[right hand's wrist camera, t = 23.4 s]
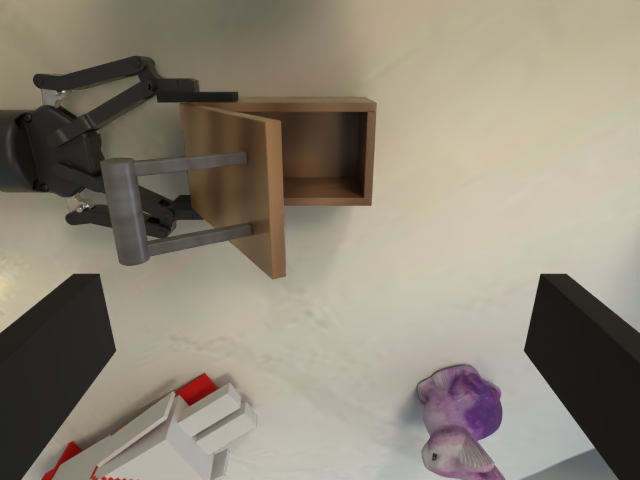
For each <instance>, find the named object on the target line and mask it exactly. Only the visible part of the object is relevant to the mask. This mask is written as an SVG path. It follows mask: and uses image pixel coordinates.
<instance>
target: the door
mask: <svg viewBox="0 0 640 480" xmlns="http://www.w3.org/2000/svg"><path fill="white" fill-rule="evenodd" d="M179 105H180V113H181V122H182V130H183V139H184V147H185V156H181V157H171V158H160V159H150V160H139V161H134V159H131V158H113V159H106V160H103V161H101V162H100V166H101V171H102V176H103V181H104V187H105V192H106V197H107V202H108V207H109V212H110V217H111V223H112V228H113V233H114V238H115V243H116V248H117V253H118V258H119V263H120V264H122V265H126V266H132V265H138V264H142V263H144V262H146V261H148V260H149V259H150V256H154V255H158V254H163V253H168V252H173V251H178V250H183V249H188V248H193V247H198V246H203V245H208V244H212V243H217V242H222V241H227V240H229V241H230V242H231V243H232V244H233V245H234V246H235V247H236V248H238V249H239V250H240V251H241V252H242V253H243V254H244V255H245V256H247V257H248V258H249V259H250V260H251V261H252V262H253V263H255V264H256V265H257V266H258V267H259V268H260V269H261V270H262V271H264V272H265V273H266V274H267V275H268V276H269V277H270V278H271V279H277V278H280V277H284V276H286V260H285V229H284V199H283V169H282V138H281V121H280V120H275V119H269V118H264V117H259V116H254V115H249V114H244V113H239V112H234V111H229V110H223V109H218V108H213V107H208V106H203V105H198V104H193V103H180V104H179ZM180 171H187V173H188V181H189V190H190V198H191V206H192V209H194V210H195V211H196V212H197V213H198V214H199V215H200V216H202V217H203V218H204V219H205V220H206V221H207V222H208V223H209V224H211V225H212V226H213V227H214V228H215V229H210V230H204V231H199V232H194V233H188V234H183V235H178V236H172V237H167V238H161V239H156V240H151V241H147V235H146V229H145V223H144V217H143V211H142V205H141V199H140V193H139V187H138V180H137V176H144V175H153V174H162V173H171V172H180Z"/></svg>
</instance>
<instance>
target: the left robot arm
mask: <svg viewBox="0 0 640 480" xmlns="http://www.w3.org/2000/svg"><path fill="white" fill-rule="evenodd" d="M135 75H138V76H139V78H140V81H141V82H139V83H138V84H136V85H134V86H133V87H131V88H129V89H127V90H126V91H124V92H122V93H121V94H119V95H117V96H116V97H114V98H112V99H111V100H109V101H107V102H106V103H104V104H102V105H101V106H99V107H97V108H96V109H94V110H92V111H90V112H89V113H87V114H85V115H82V116H80V117H77V116H75V115H74V114H72V113H71V112H69V111H68V110H66V109H65V108H63V107H62V106H60V103H61V101H62V100H63V99H68V98H69V97H70V96H71V94H72V91H71V90H81V89H86V88H90V87H93V86H97V85H101V84H105V83H108V82H112V81H116V80H120V79H124V78H127V77H131V76H135ZM33 82H34V84H35V86H37V87H38V88H40V89H41V90H42V99H43V106H41V107H39V108H38V109H36V110H0V192H51V193H55V194H57V195H59V196H61V197H65V200H66V203H67V206H68V209H69V212H70V213H69V214H67V215H66V217H65V218H66V221H67V223H69V224H70V225H79V224H88V223H92V224H97V225H101V226H106V227H111V228H112V223H111V217H110V212H109V207H108V205H99V204H98V205H94V204H95V203H94V201H92V200H88V199H84V198H82V197H81V196H80V194H79V193H80V192H81V191H82V190H84V189H85V188H88V189H90V190H92V191H95V192H102V193H105V194H106V192H105V187H104V181H103V176H102V171H101V166H100V162H101V161H103V160H105V158H104V156H103V154H102V152H101V143H102V142H101V136H100V134H97V132H96V131H97V130H99V129H101V128H102V127H104V126H106V125H107V124H108V123H110V122H111V121H113V120H115V119H116V118H118V117H120V116H121V115H123V114H125V113H127V112H128V111H130V110H132V109H133V108H135V107H137V106H139V105H140V104H142V103H144V102H146V101H147V100H149V99H151V98H152V97H154V96H156V95H157V101H158V102H234V101H238V92H199V85H198V81H197V80H195V79H166V78H162V77H161V76H160V75H159V74H158V73H157V71H156V69H155V62H154V61H153V59H151V58H149V57H143V56H133V57H129V58H126V59H122V60H118V61H114V62H111V63H107V64H103V65H100V66H96V67H92V68H88V69H85V70H81V71H77V72H73V73H70V74H66V75H61V74H36V75H34V77H33ZM138 187H139V193H140V199H141V205H142V211H144V212H147V213H149V214H151V215H149V214H145V213H143V217H144V223H145V229H146V235H148V236H153V237H157V238H167V237H168V236H169V234H170V233H171V232H172V231H173V230H174V229H175V228H176V221H177V220H204V218H203V217H202V216H200V215H199V214H198V213H197V212H196V211H195V210H194V209H192V206H191V198H190V195H180V196H179V197H177V198H176V199H175V200H174V201H172V200H169V199H167V198H165V197H163V196H161V195H159V194H157V193H154V192H152V191H150V190H148V189H146V188H144V187H141V186H139V185H138Z"/></svg>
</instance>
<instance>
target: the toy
mask: <svg viewBox="0 0 640 480" xmlns="http://www.w3.org/2000/svg"><path fill="white" fill-rule="evenodd" d="M255 427H257V414H256V413H255V412H254V411H253V410H252V409H251V407H250V406H249V405H248V404H247V403H246V402H244V403H243V404H241V395H240V394H239V393H238V392H237V391H236V389H235V388H234V387H233V386H232V385H231V383H230V382H229V383H228V384H226V385H224V386H223V387H221V388H219V389H218V388H217V387H216V386H215V384H214V383H213V382H212V381H211V380H210V379H209V378H208V377H207V376H206V374H205V373H204V374H203V375H201V376H200V377H198V378H197V379H195V380H194V381H192V382H191V383H189V384H188V385H186V386H185V387H183V388H181V389H180V390H178V391H177V392H175V393H174V392H173V391H172V392H171V393H169V394H168V395H167V396H165V397H164V398H162V399H161V400H160V401H158V402H157V403H156V404H154V405H153V406H152V407H150V408H149V409H147V410H146V411H145V412H143V413H142V414H141V415H139V416H138V417H137V418H135V419H134V420H132V421H131V422H130V423H128V424H126V425H125V426H123V427H122V428H120V429H119V430H117V432H116V433H115V434H113V435H112V434H110V435H109V436H107V437H105V438H104V439H102V440H101V441H99V442H97V443H96V444H94V445H92V446H91V447H89V448H87V449H86V450H84V451H82V450H81V449H80V448H79V447H78V446H77V445H76V444H74V443H73V442H71V443H69V445H68V446H67V448H66V450H65V451H64V453H63V455H62V456H61V458H60V460H59V461H58V463H57V465H56V466H55V468H54V469H53V470H51V471H49V472H48V473H46V474H45V475H44V476H43V478H42V480H222V479H224V478H225V475H226V469H227V463H228V456H229V451H228V449H226V450H224V451H222V452H220V453H218V454H216V455H214V453H215V451H217V450H218V449H220V448H222V447H223V446H225V445H227V444H228V443H230V442H232V441H234V440H235V439H237V438H239V437H240V436H242V435H244V434H245V433H247V432H249V431H250V430H252V429H254V428H255Z"/></svg>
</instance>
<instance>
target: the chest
mask: <svg viewBox="0 0 640 480" xmlns="http://www.w3.org/2000/svg"><path fill="white" fill-rule="evenodd" d="M188 103H193V104H198V105H203V106H208V107H213V108H218V109H223V110H229V111H234V112H239V113H244V114H249V115H254V116H259V117H264V118H269V119H275V120H280V121H281V138H282V169H283V199H284V205H306V206H371V205H372V186H373V165H374V144H375V123H376V103H375V102H374V101H372V100H370V99H368V98H366V97H238V101H234V102H188Z"/></svg>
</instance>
